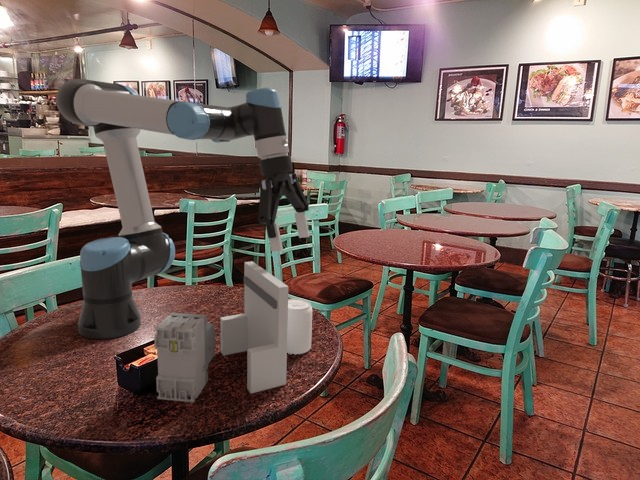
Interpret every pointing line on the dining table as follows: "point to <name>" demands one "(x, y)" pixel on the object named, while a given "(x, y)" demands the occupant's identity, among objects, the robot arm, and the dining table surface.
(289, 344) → the beverage can
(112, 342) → the dining table surface
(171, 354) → the circuit breaker
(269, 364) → the grey upright angular piece
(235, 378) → the dining table surface
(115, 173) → the robot arm
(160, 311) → the dining table surface
